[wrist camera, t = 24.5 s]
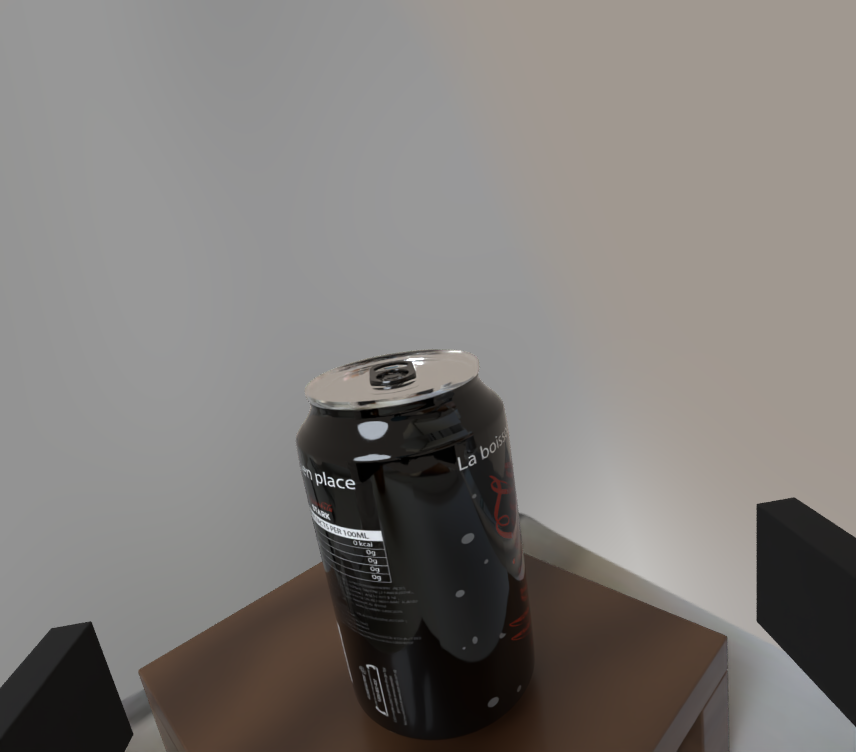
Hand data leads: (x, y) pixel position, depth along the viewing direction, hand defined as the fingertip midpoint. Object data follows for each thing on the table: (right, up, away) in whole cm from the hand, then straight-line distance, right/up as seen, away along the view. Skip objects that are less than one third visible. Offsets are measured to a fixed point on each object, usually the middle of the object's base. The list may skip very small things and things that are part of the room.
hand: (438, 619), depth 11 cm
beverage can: (+1, -7, +10) cm, 12 cm away
